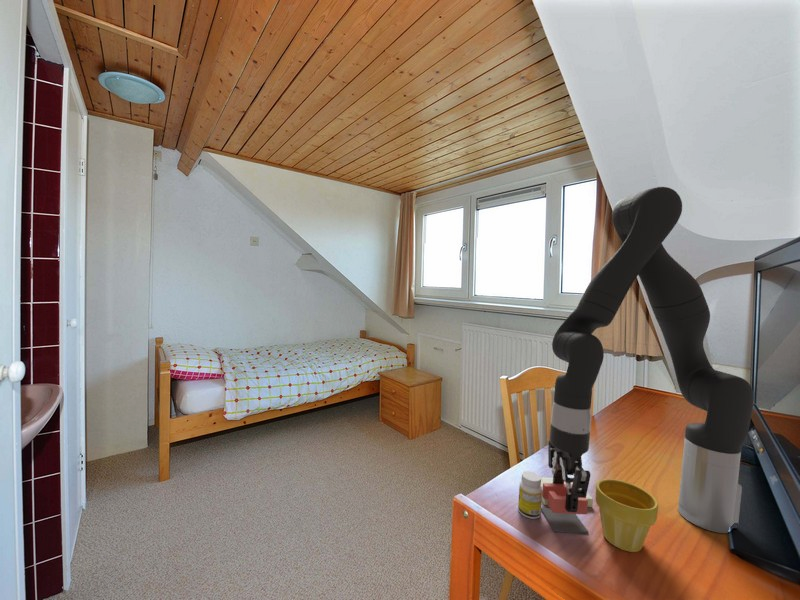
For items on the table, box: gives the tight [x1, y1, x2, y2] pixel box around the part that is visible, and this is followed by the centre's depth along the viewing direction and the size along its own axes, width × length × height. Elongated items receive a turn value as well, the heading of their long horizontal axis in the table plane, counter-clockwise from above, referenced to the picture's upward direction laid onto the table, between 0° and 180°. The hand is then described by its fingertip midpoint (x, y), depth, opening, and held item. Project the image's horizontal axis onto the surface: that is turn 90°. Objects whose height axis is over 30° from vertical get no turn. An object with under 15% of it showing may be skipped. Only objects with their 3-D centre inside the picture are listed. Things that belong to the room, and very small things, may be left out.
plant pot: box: [595, 478, 659, 553], centre depth 70 cm, size 10×10×10 cm
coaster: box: [541, 507, 589, 534], centre depth 75 cm, size 7×7×1 cm
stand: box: [540, 476, 594, 508], centre depth 84 cm, size 11×8×7 cm
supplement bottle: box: [517, 470, 542, 520], centre depth 77 cm, size 5×5×8 cm
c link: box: [542, 483, 589, 515], centre depth 74 cm, size 7×6×3 cm
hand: (563, 501), depth 75 cm, fingers closed on c link, 5 cm apart
